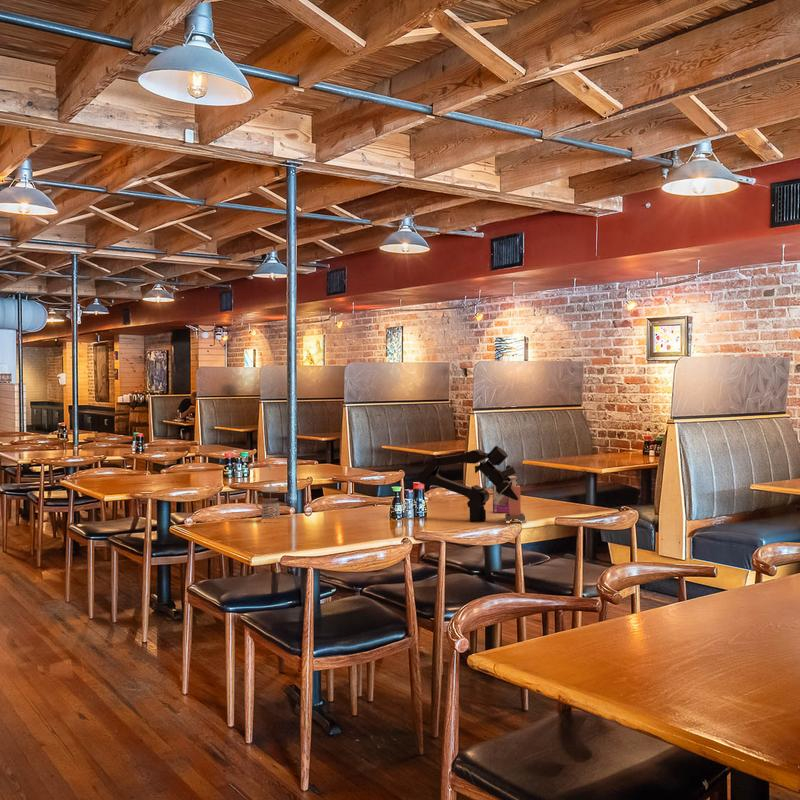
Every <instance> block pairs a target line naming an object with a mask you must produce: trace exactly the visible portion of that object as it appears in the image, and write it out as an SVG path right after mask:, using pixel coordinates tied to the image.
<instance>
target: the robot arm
mask: <svg viewBox="0 0 800 800" xmlns="http://www.w3.org/2000/svg"><path fill="white" fill-rule="evenodd" d="M506 459H508V454H507V452H506V451H505V450H503V448H501V447H499V446H498V445H494V447H493V448H492V449H491V450H490V451H489V452H484V451H483V450H482V449H480V448H479V449H472V450H469V451H466V452H464V453H461V454H453V455H446V456H441V457H440V456H437V457H433V458H431V460H430V462H429V463H428V464H427V465H426V467H424V468H423V470H422V471H420V472H419V473H418V476H417V479H418V483H420V484H422V485H425V486H426V485H427V486H436V487H439V488H441V489H442V488H443V489H445V490H446V491H447V490H448V491H450V492H453V493H456V494H458V495H462V496H464V497H466V498H467V499H468V501H467V502H466V505H467V507H468V509H469V513H468V514H469V519H468V520H469V522H470V523H473V522H475V523H478V522H479V523H481V522H482V523H483V522H486V520H487V515H486V514H487V513H486V509H485V506H486V503H487V502H488V501H489V500H490V493H489V492H490V491H489V490H487V489H486V487H482V486H480V485H478V484H476V485H472V486H471V487H470V486H467V485H464V484H461V483H459V482H456V481H453V480H450V479H448V478H444V477H443V476H441V475H440V474H439V473H438V472H439V470H440V468H441V466H448V465H453V464H454V465H455V464H471V465H473V464H474V465H475V464H478V463H480V464H478V465H475V466H474V473H475V474H477V473H478V472H479V471H480V472H481V473H482V475H483V476H485V477H486V478H487V481H489V482H490V483H492V485H493V484H494V485H495V487H496V492H497V493H498V494H500V493H501V494H502V495H504V496H507V497H509V498H512V499H514V500H516V501H517V500H518V497H517V496H516V494H515V493H514V492H513V490H512V489H511V486H512V481H511V480H512V479H511V478H510V477H509V476H513V475H516V474H517V470H516V469H515V467H514V465H512V466H511V465H510V464H508V465H506V466H505V469H503V470H501V469H498V468H497V467H499V466H500V465H501V464H502V463H503V462H504V461H505V460H506ZM484 460H486V461H484ZM496 466H497V467H496ZM510 481H511V482H510ZM509 482H510V483H509Z"/></svg>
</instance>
